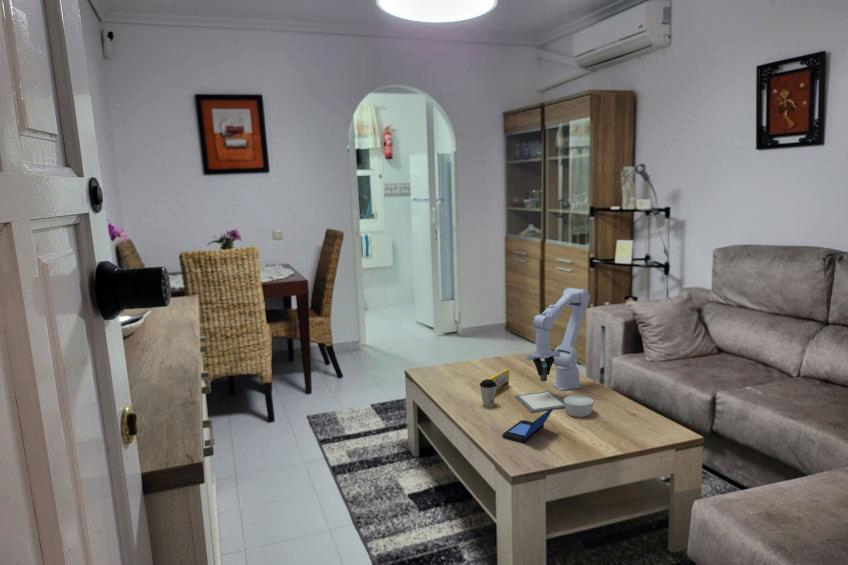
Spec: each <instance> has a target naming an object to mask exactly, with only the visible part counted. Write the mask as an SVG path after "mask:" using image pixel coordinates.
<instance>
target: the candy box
mask: <svg viewBox="0 0 848 565" xmlns="http://www.w3.org/2000/svg"><path fill="white" fill-rule="evenodd" d="M487 379H491V380H493V381H494V382H495V383H496V392H495V395H497V394H498V393H500V392H502V391H503V390H505V389H506V388H508V387H510V369H509V368H504V369H502V370H500V371H498V372H497V373H494V374H493V375H492V376H489V377H488V378H487Z"/></svg>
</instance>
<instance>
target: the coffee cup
mask: <svg viewBox="0 0 848 565" xmlns="http://www.w3.org/2000/svg"><path fill="white" fill-rule="evenodd" d="M479 386H480V392H481V400H482V405H483V407H486V408H487V407H488V408H489V407H494V406H495V404H496V403H495V402H496V401H495V400H496V394H495V392H496V383H495V382H494V381H493V380H491V379H488V378H486V379H483V380H482V381H481V382H480V383H479Z"/></svg>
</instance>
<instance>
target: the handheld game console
mask: <svg viewBox="0 0 848 565" xmlns="http://www.w3.org/2000/svg"><path fill="white" fill-rule="evenodd" d="M553 411H554V410H553V408H551V409H550V410H548V411H545V412H544V413H543V414H542V415H540V416H539V417H537V418H536V419H535V420H534V421H529V420H523V419H522V420H520V421H518V422H517V423H516V424H514V425H513V426H511V427H510V428H508V429H507V430H506V431H504V432H503V433H502V438H503V439H507V440H510V441H513V442H516V443H521V444H526V442H527V441H529V440H530V439H531V438H532V437H533V436H534V435H536V434H537V433H539V432H540V431H541V430H543V429H544V428H545V423H546V421H547V419H548V418H549V417H550V415H551V413H552V412H553Z"/></svg>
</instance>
